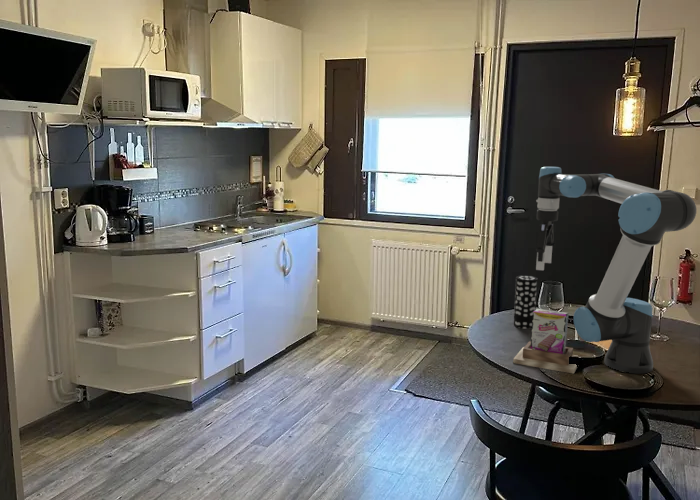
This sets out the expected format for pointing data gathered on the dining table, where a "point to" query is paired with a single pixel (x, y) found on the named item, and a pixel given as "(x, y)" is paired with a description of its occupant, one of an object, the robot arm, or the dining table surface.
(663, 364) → the dining table surface
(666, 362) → the dining table surface
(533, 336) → the candy bar box
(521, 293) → the white-spotted black cylinder
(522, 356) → the stand
